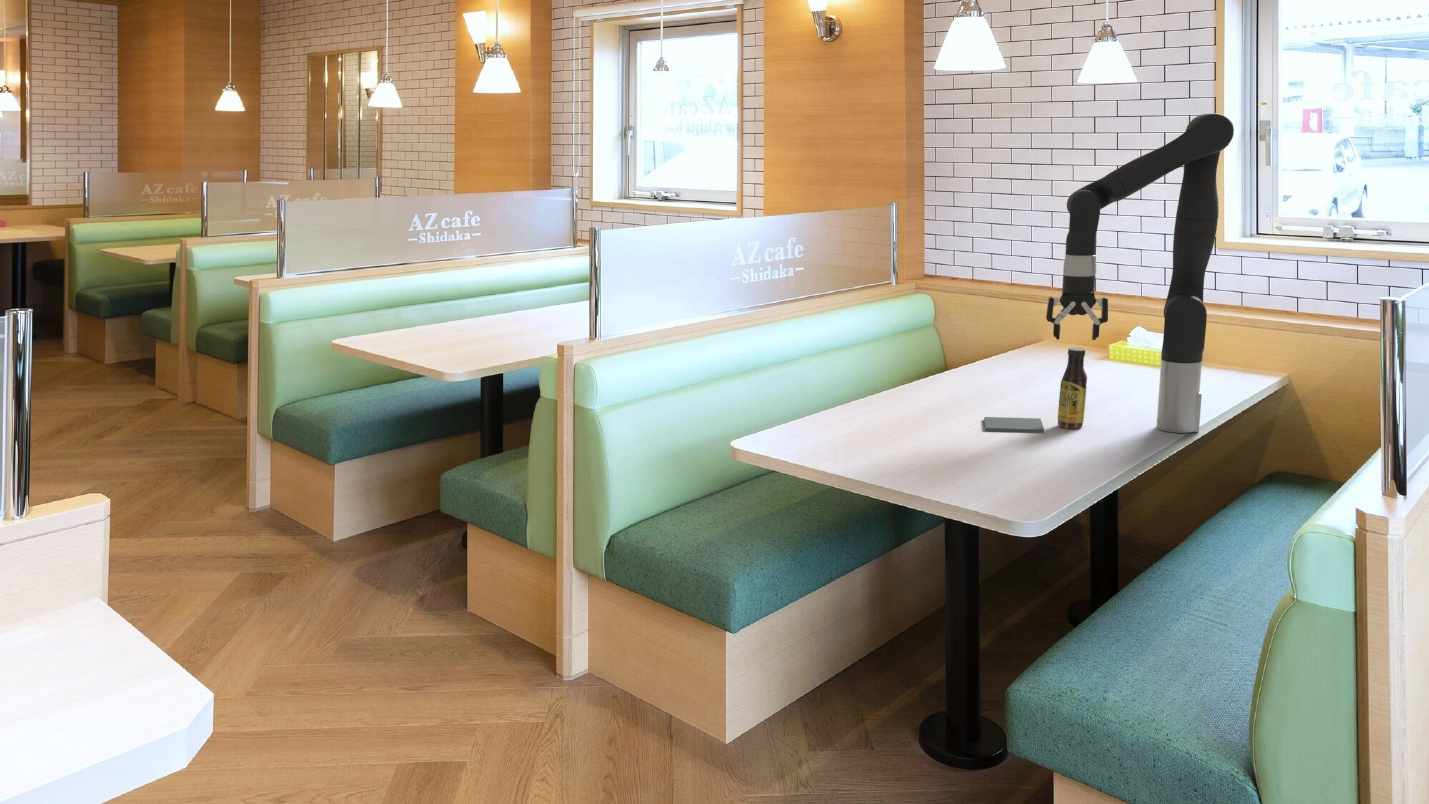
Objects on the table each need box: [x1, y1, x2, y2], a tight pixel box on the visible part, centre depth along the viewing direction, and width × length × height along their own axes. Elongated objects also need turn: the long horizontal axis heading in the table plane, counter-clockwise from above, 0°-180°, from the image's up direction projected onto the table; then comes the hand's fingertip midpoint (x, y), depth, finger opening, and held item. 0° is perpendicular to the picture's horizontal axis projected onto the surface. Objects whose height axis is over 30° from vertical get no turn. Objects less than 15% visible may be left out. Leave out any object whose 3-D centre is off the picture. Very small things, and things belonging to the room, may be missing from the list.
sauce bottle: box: [1057, 347, 1088, 430], centre depth 272 cm, size 6×6×20 cm
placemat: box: [983, 416, 1045, 434], centre depth 276 cm, size 14×12×1 cm
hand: (1075, 339), depth 269 cm, fingers open, 8 cm apart
